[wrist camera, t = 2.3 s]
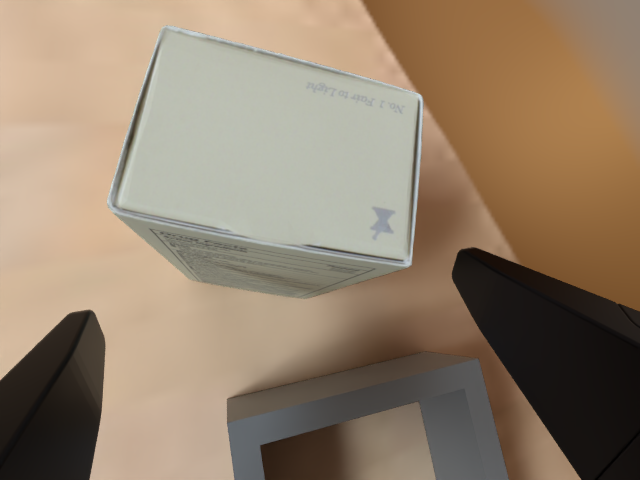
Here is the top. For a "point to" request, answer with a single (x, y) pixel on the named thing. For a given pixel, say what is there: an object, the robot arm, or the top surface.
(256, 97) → the skincare box
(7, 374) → the robot arm
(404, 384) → the gray rectangular frame
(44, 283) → the top surface
